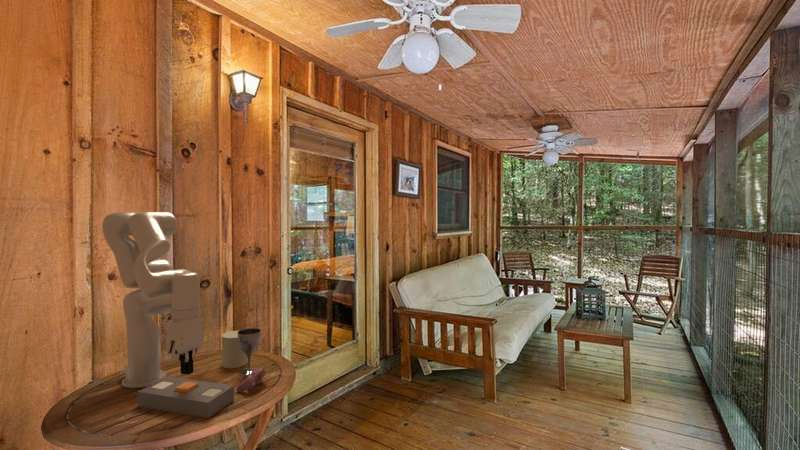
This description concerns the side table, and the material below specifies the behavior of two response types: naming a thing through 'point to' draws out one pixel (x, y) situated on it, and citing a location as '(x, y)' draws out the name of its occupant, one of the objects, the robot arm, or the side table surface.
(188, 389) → the button orange
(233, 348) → the can
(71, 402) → the side table surface
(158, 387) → the button cream
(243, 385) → the video game controller
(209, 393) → the button sage
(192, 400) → the button panel
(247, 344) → the wine glass
